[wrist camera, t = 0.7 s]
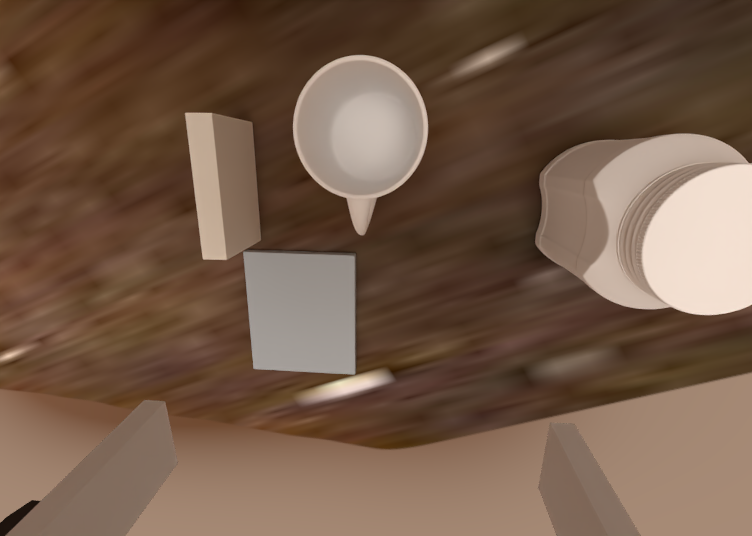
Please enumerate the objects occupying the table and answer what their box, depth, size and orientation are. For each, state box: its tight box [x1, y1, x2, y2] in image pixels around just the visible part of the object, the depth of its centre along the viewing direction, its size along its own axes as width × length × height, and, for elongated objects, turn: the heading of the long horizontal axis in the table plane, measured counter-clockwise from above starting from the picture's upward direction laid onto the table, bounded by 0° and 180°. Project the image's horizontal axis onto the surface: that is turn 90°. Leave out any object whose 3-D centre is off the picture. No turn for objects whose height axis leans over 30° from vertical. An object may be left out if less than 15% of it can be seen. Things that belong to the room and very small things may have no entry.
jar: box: [535, 134, 752, 315], centre depth 27 cm, size 12×10×15 cm
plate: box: [243, 250, 356, 374], centre depth 39 cm, size 13×11×1 cm
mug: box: [293, 55, 428, 235], centre depth 29 cm, size 9×12×11 cm
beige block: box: [185, 113, 261, 260], centre depth 32 cm, size 11×5×8 cm, turn 179°
